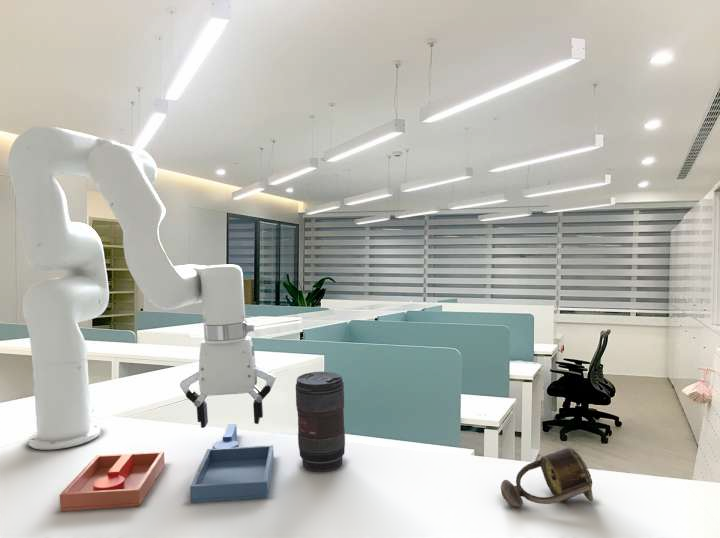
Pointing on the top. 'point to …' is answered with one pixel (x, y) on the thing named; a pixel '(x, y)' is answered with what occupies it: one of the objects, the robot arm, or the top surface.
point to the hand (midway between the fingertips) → (230, 423)
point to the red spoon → (115, 475)
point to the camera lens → (320, 420)
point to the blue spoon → (228, 438)
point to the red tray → (134, 493)
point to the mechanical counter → (553, 479)
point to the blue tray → (233, 474)
